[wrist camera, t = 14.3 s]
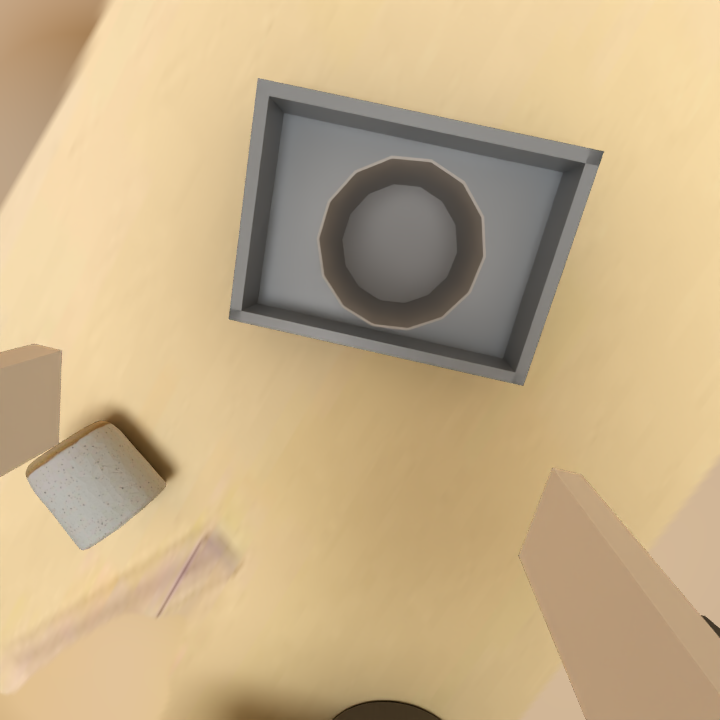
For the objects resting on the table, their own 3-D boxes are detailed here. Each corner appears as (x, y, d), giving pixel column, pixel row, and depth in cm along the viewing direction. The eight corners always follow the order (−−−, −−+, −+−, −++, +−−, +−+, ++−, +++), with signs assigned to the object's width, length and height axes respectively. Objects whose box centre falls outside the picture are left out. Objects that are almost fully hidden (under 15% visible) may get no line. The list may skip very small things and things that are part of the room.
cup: (481, 226, 30) (522, 219, 20) (416, 323, 32) (424, 359, 22) (380, 160, 29) (372, 119, 19) (321, 263, 31) (288, 273, 22)
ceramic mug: (121, 402, 37) (51, 443, 30) (182, 471, 38) (130, 527, 31) (47, 460, 40) (-34, 511, 32) (106, 523, 41) (42, 586, 34)
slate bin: (506, 366, 33) (523, 385, 29) (250, 309, 34) (228, 319, 29) (572, 164, 29) (603, 151, 25) (278, 102, 29) (257, 78, 25)
